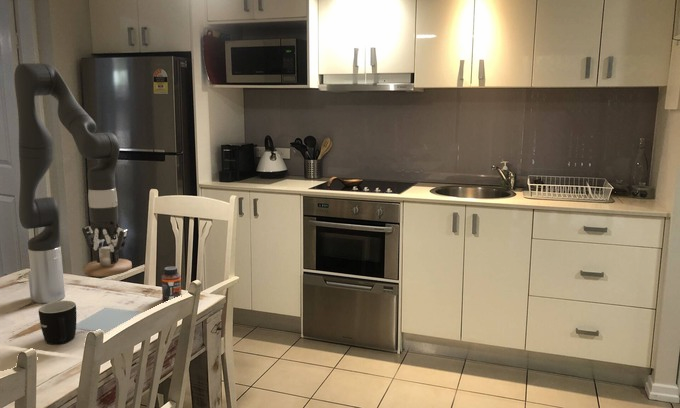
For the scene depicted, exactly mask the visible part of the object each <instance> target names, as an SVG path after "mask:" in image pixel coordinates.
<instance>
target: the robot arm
mask: <svg viewBox="0 0 680 408" xmlns="http://www.w3.org/2000/svg"><path fill="white" fill-rule="evenodd" d="M13 75H14V79H13V80H14V83H13V84H14V91H15V99H16V106H17V108H16V109H17V118H18V157H19V158H18V159H19V177H20V178H19V181H20V182H19V183H20V184H19V199H18V200H19V201H18V218H19V223H20V224H21V227H22V228H24V229H25V230H30V229H31V230H32V229H40V228H43V230H42V231H40V232H39V233H38V234H37V235H34V236H33V237H30V239H28V241H27V249H28V250H27V251H28V258H29V259H28V260H29V268H30V270H29V271H28V272H27V275H28V285H29V295H30V300H31V301H33V302H34V303H38V304H47V303H50V302H55V301H62V300H63V299H64V298H65V297H66V293H65V292H66V290H65V280H64V279H65V278H64V268H63V267H64V266H63V257H62V256H63V255H62V248H61V224H60V223H61V221H60V220H61V217H60V216H61V215H60V206H59V204H58V201H57V200H56V199H55V198H54V197H53V196H46V197H37V198H35V196H36V192H37V189H38V186H39V184H40V182H41V180H42V179H43V177H44V176H45V174H47V172H48V171H49V168H50V167H51V165H52V163H53V160H54V138H53V137H52V134H51V132H50V131H49V129H48V128H47V126H46V124H45V123H44V122H43V121H42V119H41V118H40V116H39V114H38V112H37V109H36V101H35V99H36V98H35V96H36V97H38V96H41V97H42V96H51V97H53V98H54V99H56V101H57V117H58V119H59V121H60V123H61V124H62V125H63V126H64V128H65V129H66V130H67V131H68V132H69V134H71V137H72V139H73V141H74V143H75V145H76V148H77V150H78V152H79V153H80V155H81V156H82V157H83V158H85V159H87V160H99V163H98V165H96V166H94V167H90V168H89V169H88V171H87V183H88V184H87V185H88V194H87V199H88V212H89V213H88V214H89V221H90V222H91V224H90V225H88V226H85V227H82V229H81V231H82V234H83V236H84V239H85V242H86V244H87V247H88V248H92V249H93V250H94V256H95V257H94V258H95V261H97V263H100V259H99V248H101V247H104V246H103V245H104V242H105V241H106V244H107V245H108V246H109V247H110V250H111V252H110V259H111V264H116V263H117V262H118V260H119V259H120V257H119V251H120V250H122V249H124V248H125V246H126V243H127V242H126V241H127V239H128V236H129V229H127V228H126V229H125V228H124V229H123V228H121V227H120V225H119V223H118V222H119V204H118V203H119V202H118V194H117V193H118V192H117V188H116V176H115V175H116V168H117V165H118V159H119V155H120V151H121V150H120V149H121V148H120V141H119V139H118V137H117V136H116V134H114V133H112V132H97V129H98V128H97V124H96V122H95V121H94V119H93V118H92V117H91V116H90V115H89V114H88V113H87V112H86V111H85V110H84V108H83V107H82V106H81V105H80V103H78V101H77V100H76V98H75V96H74V94H73V93H72V91H71V89H70V88H69V86H68V84H67V83H66V81H65V80H64V78H63V77H62V75H61V73H60V72H59V71H58V69H57V68H56V67H55V66H53V65H52V64H50V63H45V62H44V63H41V62H40V63H39V62H37V63H36V62H34V63H29V62H24V63H19V64H18V65H16V67H15V69H14V74H13Z"/></svg>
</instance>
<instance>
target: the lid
mask: <svg viewBox="0 0 680 408" xmlns="http://www.w3.org/2000/svg"><path fill="white" fill-rule="evenodd" d="M110 252H111V250H110V247H109V245H108V246H103V247H101V248H99V259H100V263H97V261H96V260H93V261H90V262H87V263H85V264H84V265H83V266H82V273H83V274H84V275H86V276H91V277H110V276H116V275H120V274H125V273H127V272H128V271H130V270H132V267H133V265H132V261H131V260H129V259H127V258H126V259H125V258H119V260H118V262H117V263H116V264H111V259H110Z"/></svg>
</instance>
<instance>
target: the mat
mask: <svg viewBox="0 0 680 408" xmlns="http://www.w3.org/2000/svg"><path fill="white" fill-rule="evenodd" d="M142 312H143V311H138V310H130V309H120V308H113V307H112V308H111V307H103V308H102V309H100V310H98V311H97V312H95V313H93V314H91V315H90V316H88V317H86V318H84V319H83V320H80V321H79V322H76V330H79V331H82V330H83V331H88V332H89V331H91V332H96V331H95V330H98V329H101V330H103V331H104V332H103V333H105V332H108V331H110V330H111V329H113V328H115V327H117V326H118V325H120V324H122V323H124V322H126V321H128V320H130V319H131V318H133V317H134V316H136V315H138V314H140V313H142Z"/></svg>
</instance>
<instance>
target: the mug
mask: <svg viewBox="0 0 680 408" xmlns="http://www.w3.org/2000/svg"><path fill="white" fill-rule="evenodd" d="M38 318H39V323H40V328H41V332H42V336H43V339H44V341H45V343H46V344H47V345H52V346H57V345H58V346H59V345H64V344H67V343H69V342H72V341H73V340H74V339H75V338H76V332H77V329H76V324H77V304H76V302H74V301H73V300H58V301H54V302H49V303H43V305H41V306H39V308H38Z"/></svg>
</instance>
